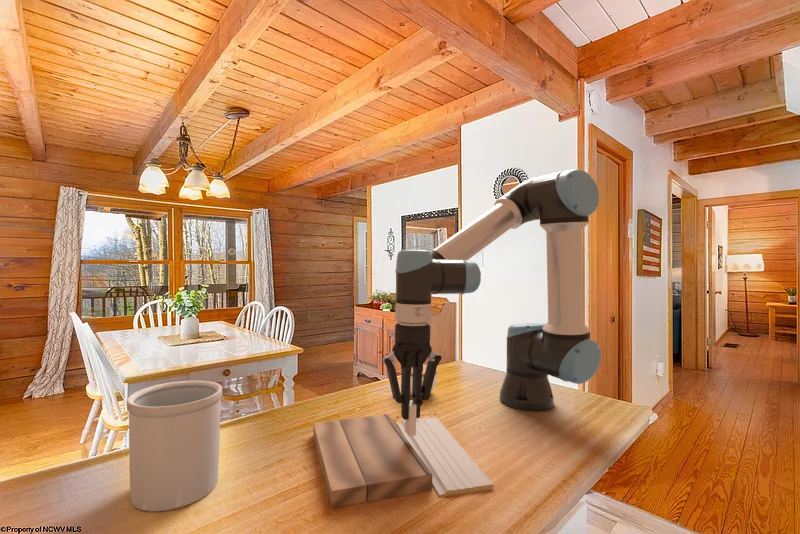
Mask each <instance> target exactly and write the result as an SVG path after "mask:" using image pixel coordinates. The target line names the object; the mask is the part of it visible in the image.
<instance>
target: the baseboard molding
mask: <svg viewBox="0 0 800 534" xmlns="http://www.w3.org/2000/svg"><path fill="white" fill-rule="evenodd" d="M433 415H434V416H433ZM436 415H437V413H433V414H430V416H433V417H422V416H423V415H422V414H420V417H421V418H416V436H408V434H407V433H406V432H405V420H404V419H402V420H401V421H400V422H396V421H397V420H393V421H394V423H395V424H396V425H397V427H398V428H399V429H400V431H401V432H402V433H403V435H404V436H405V437H406V439H407V440H408V441H409V443H410V444H411V445H412V447H413V448H414V450H415V451H416V452H417V454H418V455H419V456H420V458H421V459H422V460H423V462H424V463H425V464H426V466H427V467H428V468H429V470H430V471H431V472H432V474H433V475H432V488H434V490H435V492H436V494H437V496H438V497H440V498H441V497H442V498H443V497H447V496H454V495H461V494H467V493H468V494H469V493H475V492H480V491H481V492H482V491H488V490H493V489H494V483H493V482H492V481H491V480H490V479H489V477H488V476H487V475H486V474H485V472H484V471H483V470H482V469H481V467H480V466H478V465H477V463H476V462H475V460H473V459H472V457H471V456H470V455H469V454H468V453H467V451H466V450H465V449H464V448H463V446H461V444H460V443H459V442H458V441H457V440H456V439H455V438H454V436H453V435H452V434H451V432H449V431H448V429H447V428H446V427H445V426H444V424H443V423H442V422H441V421H440V420H439V419H438V417H437V416H436ZM398 418H399V419H400V416H396V419H398Z"/></svg>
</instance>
